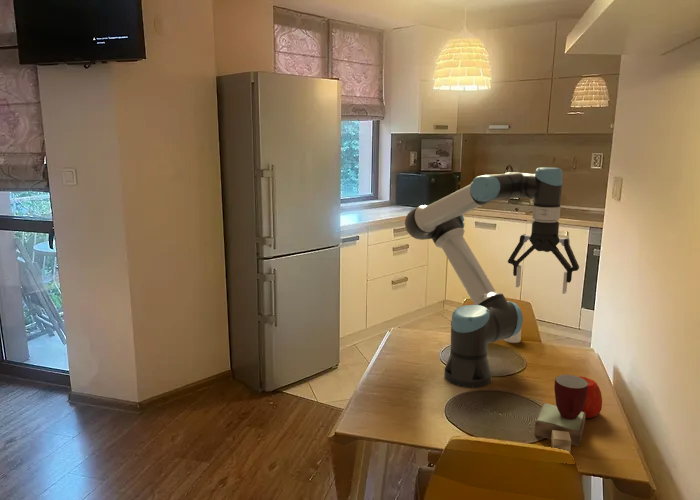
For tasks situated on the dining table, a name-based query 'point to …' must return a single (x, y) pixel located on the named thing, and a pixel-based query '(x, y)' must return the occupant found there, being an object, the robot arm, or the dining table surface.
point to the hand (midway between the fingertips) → (540, 289)
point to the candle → (514, 338)
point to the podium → (559, 424)
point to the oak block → (561, 440)
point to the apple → (592, 399)
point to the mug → (570, 395)
